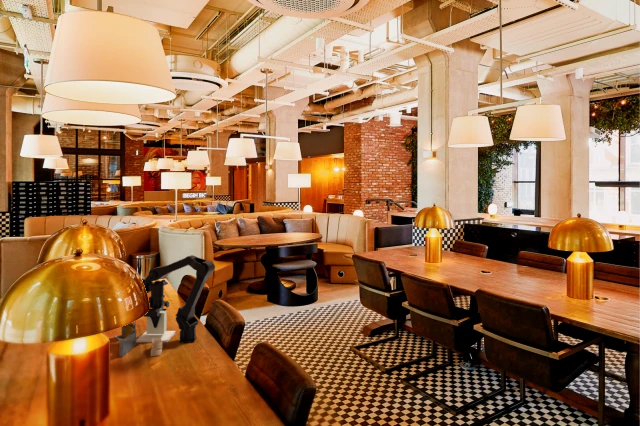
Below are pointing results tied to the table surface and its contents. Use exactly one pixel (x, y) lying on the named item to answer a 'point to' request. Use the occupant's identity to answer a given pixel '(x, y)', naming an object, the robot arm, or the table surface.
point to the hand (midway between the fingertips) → (156, 326)
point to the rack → (127, 343)
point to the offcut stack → (156, 347)
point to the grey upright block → (161, 324)
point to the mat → (156, 336)
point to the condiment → (126, 330)
